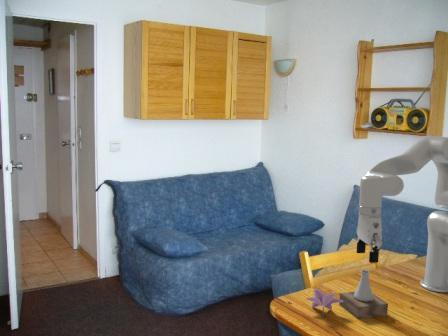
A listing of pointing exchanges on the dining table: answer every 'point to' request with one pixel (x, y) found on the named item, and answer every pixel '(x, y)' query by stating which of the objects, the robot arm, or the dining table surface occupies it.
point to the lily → (323, 300)
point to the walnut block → (363, 306)
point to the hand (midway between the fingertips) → (367, 257)
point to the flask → (364, 288)
